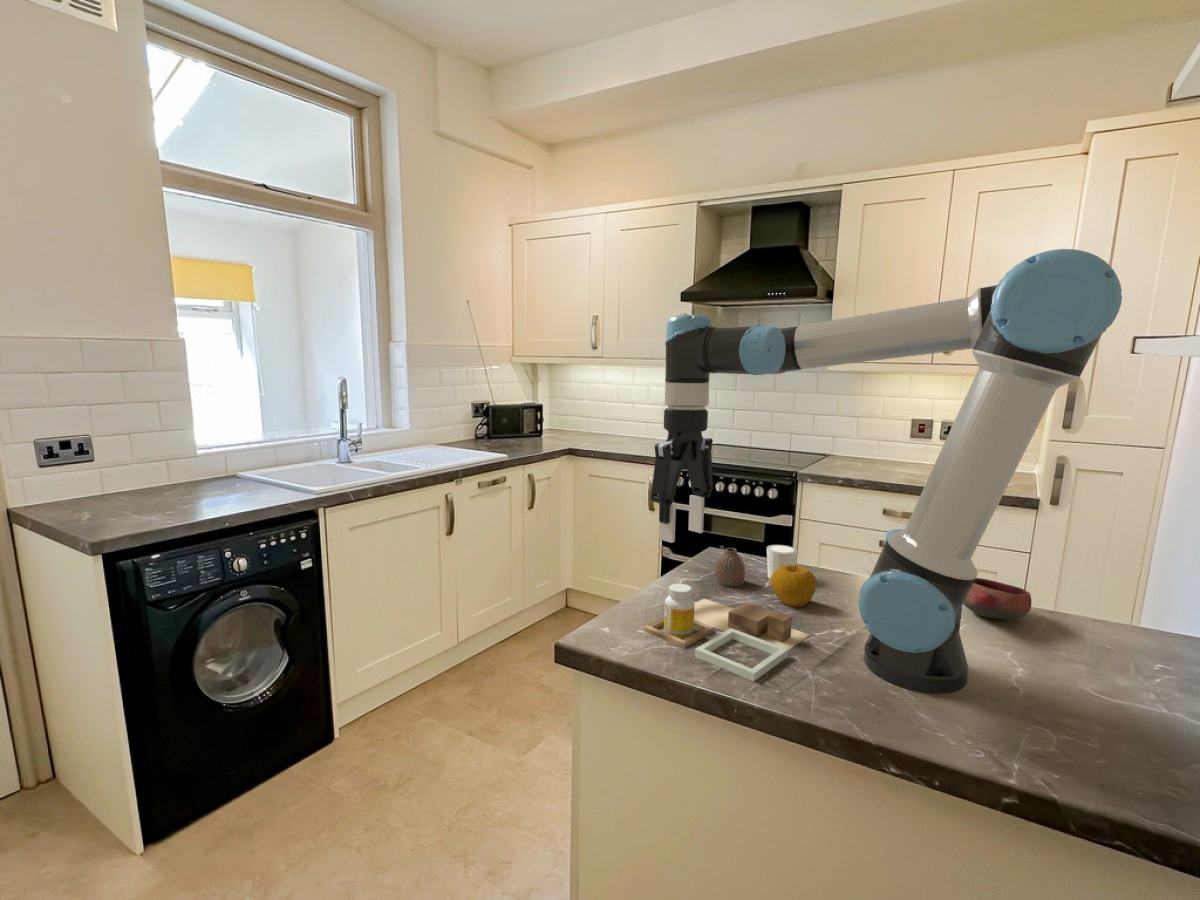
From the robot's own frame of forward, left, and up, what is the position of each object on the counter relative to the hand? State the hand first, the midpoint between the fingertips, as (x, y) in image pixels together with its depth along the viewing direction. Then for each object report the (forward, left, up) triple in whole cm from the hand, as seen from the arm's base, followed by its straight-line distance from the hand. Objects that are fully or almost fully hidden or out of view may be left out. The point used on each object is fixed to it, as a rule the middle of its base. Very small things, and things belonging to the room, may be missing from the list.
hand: (681, 535), depth 105 cm
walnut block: (-8, -11, -18) cm, 23 cm away
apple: (-8, -28, -19) cm, 35 cm away
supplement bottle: (0, 0, -19) cm, 19 cm away
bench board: (-6, -11, -19) cm, 23 cm away
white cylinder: (+2, -42, -19) cm, 46 cm away
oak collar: (0, 0, -19) cm, 19 cm away
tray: (-13, 0, -19) cm, 23 cm away
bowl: (-39, -51, -19) cm, 67 cm away
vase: (+7, -28, -19) cm, 35 cm away
